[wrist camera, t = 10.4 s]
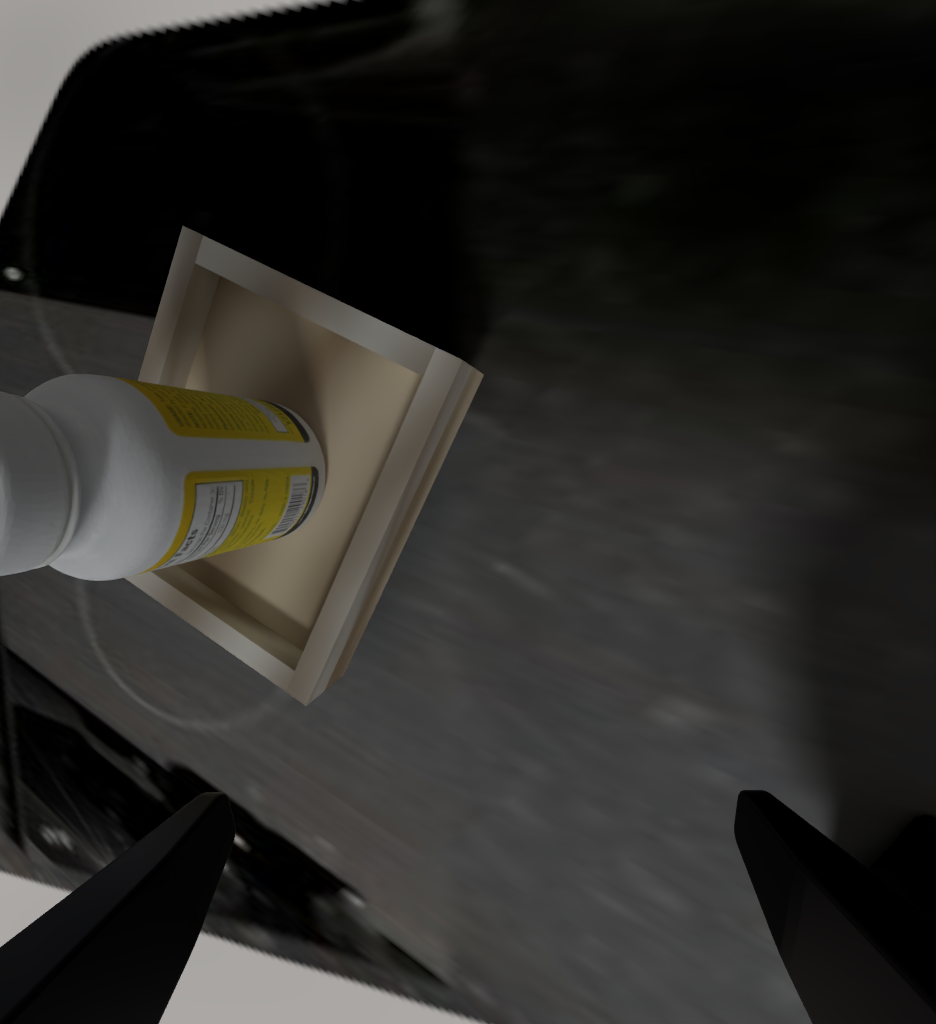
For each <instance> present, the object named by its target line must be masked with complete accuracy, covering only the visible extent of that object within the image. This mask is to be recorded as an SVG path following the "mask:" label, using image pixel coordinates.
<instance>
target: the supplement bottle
mask: <svg viewBox="0 0 936 1024" xmlns="http://www.w3.org/2000/svg"><path fill="white" fill-rule="evenodd" d="M324 488H325V462H324V457H323V453H322V450H321V447H320V444H319V442H318V440H317V438H316V436H315V434H314V433H313V431H312V429H311V428H310V427H309V426H308V424H307V423H306V422H305V421H304V420H303V419H302V418H301V417H300V416H299V415H298V414H297V413H295V412H294V411H292V410H290V409H289V408H287V407H285V406H282V405H280V404H277V403H273V402H269V401H264V400H257V399H252V398H245V397H237V396H230V395H224V394H216V393H210V392H204V391H199V390H191V389H184V388H178V387H172V386H166V385H159V384H152V383H146V382H141V381H135V380H129V379H122V378H116V377H110V376H100V375H92V374H72V375H65V376H60V377H57V378H54V379H52V380H49V381H47V382H45V383H43V384H42V385H40V386H38V387H36V388H35V389H33V390H32V391H30V392H29V393H28V394H27V395H26V396H25V397H21V396H17V395H11V394H8V393H4V392H0V576H3V575H9V574H15V573H20V572H25V571H28V570H30V569H36V568H40V567H43V566H46V565H50V566H51V567H53V568H54V569H56V570H58V571H60V572H62V573H65V574H67V575H70V576H73V577H76V578H80V579H85V580H95V581H100V580H114V579H118V578H123V577H129V576H133V575H138V574H142V573H146V572H150V571H153V570H157V569H162V568H166V567H169V566H173V565H177V564H182V563H185V562H189V561H193V560H197V559H201V558H205V557H209V556H213V555H217V554H221V553H224V552H228V551H233V550H236V549H241V548H244V547H248V546H252V545H256V544H260V543H264V542H268V541H271V540H275V539H278V538H281V537H284V536H287V535H289V534H292V533H294V532H295V531H297V530H299V529H300V528H301V527H303V526H304V525H305V524H306V523H307V522H308V521H309V520H310V519H311V517H312V516H313V515H314V513H315V512H316V510H317V508H318V506H319V504H320V502H321V499H322V496H323V492H324Z"/></svg>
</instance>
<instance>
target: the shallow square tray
mask: <svg viewBox="0 0 936 1024" xmlns="http://www.w3.org/2000/svg"><path fill="white" fill-rule="evenodd" d="M483 376H484V374H482V373H481V372H479V371H478V370H476V369H475V368H473V367H472V366H471V365H469V364H468V363H466V362H465V361H463V360H461V359H459V358H457V357H455V356H453V355H451V354H449V353H447V352H445V351H443V350H441V349H439V348H436V347H434V346H432V345H430V344H428V343H426V342H424V341H422V340H420V339H418V338H416V337H414V336H411V335H409V334H407V333H405V332H403V331H401V330H399V329H397V328H395V327H393V326H391V325H389V324H386V323H384V322H382V321H380V320H378V319H376V318H374V317H372V316H370V315H368V314H366V313H364V312H361V311H359V310H357V309H355V308H353V307H351V306H349V305H347V304H345V303H343V302H341V301H338V300H336V299H334V298H332V297H330V296H328V295H326V294H324V293H322V292H320V291H318V290H316V289H313V288H311V287H309V286H307V285H305V284H303V283H301V282H299V281H297V280H295V279H293V278H291V277H288V276H286V275H284V274H282V273H280V272H278V271H276V270H274V269H272V268H270V267H268V266H266V265H263V264H261V263H259V262H257V261H255V260H253V259H251V258H249V257H247V256H245V255H243V254H241V253H238V252H236V251H234V250H232V249H230V248H228V247H226V246H224V245H222V244H220V243H218V242H216V241H213V240H211V239H209V238H207V237H205V236H203V235H201V234H199V233H197V232H195V231H193V230H191V229H188V228H186V227H184V226H183V227H182V230H181V234H180V237H179V241H178V244H177V248H176V251H175V255H174V258H173V261H172V265H171V268H170V272H169V275H168V279H167V282H166V285H165V289H164V292H163V296H162V299H161V303H160V306H159V310H158V313H157V316H156V320H155V323H154V327H153V330H152V334H151V337H150V341H149V344H148V347H147V351H146V354H145V358H144V361H143V365H142V368H141V371H140V375H139V378H138V381H141V382H146V383H152V384H159V385H166V386H172V387H178V388H184V389H191V390H199V391H204V392H210V393H216V394H224V395H230V396H237V397H245V398H252V399H257V400H264V401H269V402H273V403H277V404H280V405H282V406H285V407H287V408H289V409H290V410H292V411H294V412H295V413H297V414H298V415H299V416H300V417H301V418H302V419H303V420H304V421H305V422H306V423H307V424H308V426H309V427H310V428H311V429H312V431H313V433H314V434H315V436H316V438H317V440H318V442H319V444H320V447H321V450H322V453H323V457H324V462H325V488H324V492H323V496H322V499H321V502H320V504H319V506H318V508H317V510H316V512H315V513H314V515H313V516H312V517H311V519H310V520H309V521H308V522H307V523H306V524H305V525H304V526H303V527H301V528H300V529H299V530H297V531H295V532H294V533H292V534H289V535H287V536H284V537H281V538H278V539H275V540H271V541H268V542H264V543H260V544H256V545H252V546H248V547H244V548H241V549H236V550H233V551H228V552H224V553H221V554H217V555H213V556H209V557H205V558H201V559H197V560H193V561H189V562H185V563H182V564H177V565H173V566H169V567H166V568H162V569H157V570H153V571H150V572H146V573H142V574H138V575H133V576H129V577H124V578H125V579H127V580H128V581H130V582H131V583H133V584H134V585H135V586H137V587H138V588H140V589H141V590H142V591H144V592H145V593H147V594H148V595H150V596H151V597H152V598H154V599H155V600H157V601H158V602H159V603H161V604H162V605H164V606H165V607H167V608H168V609H169V610H171V611H172V612H174V613H175V614H176V615H178V616H179V617H181V618H182V619H184V620H185V621H186V622H188V623H189V624H191V625H192V626H193V627H195V628H196V629H198V630H199V631H201V632H202V633H203V634H205V635H206V636H208V637H209V638H210V639H212V640H213V641H215V642H216V643H218V644H219V645H220V646H222V647H223V648H225V649H226V650H227V651H229V652H230V653H232V654H233V655H235V656H236V657H237V658H239V659H240V660H242V661H243V662H244V663H246V664H247V665H249V666H250V667H252V668H253V669H254V670H256V671H257V672H259V673H260V674H261V675H263V676H264V677H266V678H267V679H269V680H270V681H271V682H273V683H274V684H276V685H277V686H278V687H280V688H281V689H283V690H284V691H286V692H287V693H288V694H290V695H291V696H293V697H294V698H295V699H297V700H298V701H300V702H301V703H303V704H304V705H305V706H307V705H308V704H309V703H310V702H312V701H313V700H314V699H315V698H317V697H318V696H319V695H320V694H321V693H323V692H324V691H325V690H326V689H327V688H329V687H330V686H331V685H332V684H334V683H335V682H336V681H337V680H338V679H340V678H341V677H342V676H343V675H344V673H345V671H346V669H347V667H348V665H349V663H350V661H351V658H352V656H353V654H354V652H355V650H356V648H357V646H358V643H359V641H360V639H361V637H362V635H363V633H364V631H365V628H366V626H367V624H368V622H369V620H370V618H371V616H372V613H373V611H374V609H375V607H376V605H377V603H378V601H379V599H380V596H381V594H382V592H383V590H384V588H385V586H386V584H387V581H388V579H389V577H390V575H391V573H392V571H393V569H394V566H395V564H396V562H397V560H398V558H399V556H400V554H401V551H402V549H403V547H404V545H405V543H406V541H407V539H408V536H409V534H410V532H411V530H412V528H413V526H414V524H415V521H416V519H417V517H418V515H419V513H420V511H421V509H422V506H423V504H424V502H425V500H426V498H427V496H428V494H429V491H430V489H431V487H432V485H433V483H434V481H435V479H436V477H437V474H438V472H439V470H440V468H441V466H442V464H443V462H444V459H445V457H446V455H447V453H448V451H449V449H450V447H451V444H452V442H453V440H454V438H455V436H456V434H457V432H458V429H459V427H460V425H461V423H462V421H463V419H464V417H465V414H466V412H467V410H468V408H469V406H470V404H471V402H472V399H473V397H474V395H475V393H476V391H477V389H478V387H479V384H480V382H481V380H482V378H483Z"/></svg>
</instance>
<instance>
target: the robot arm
mask: <svg viewBox="0 0 936 1024" xmlns="http://www.w3.org/2000/svg"><path fill="white" fill-rule="evenodd" d="M932 830H936V817H933V816H929V815H922V816H918V817H917V818H915V819H914V820H913V821H912V822H911V823H910V824H909V825H908V826H907V827H906V828H905V830H904V831H903V832H902V833H901V834H900V835H899V836H898V837H897V839H896V840H895V841H894V842H893V843H892V844H891V845H890V846H889V848H888V849H887V850H886V851H885V852H884V853H883V854H882V855H881V857H880V858H879V859H878V860H877V861H876V862H875V863H874V864H873V866H872V867H871V868H870V869H867V868H866V867H865V866H864V865H862V864H861V863H860V862H858V861H857V860H856V859H855V858H853V857H852V856H851V855H849V854H848V853H847V852H845V851H844V850H843V849H842V848H840V847H839V846H838V845H836V844H835V843H834V842H833V841H831V840H830V839H829V838H827V837H826V836H825V835H823V834H822V833H821V832H820V831H818V830H817V829H816V828H814V827H813V826H812V825H810V824H809V823H808V822H807V821H805V820H804V819H803V818H801V817H800V816H799V815H798V814H796V813H795V812H794V811H792V810H791V809H790V808H788V807H787V806H786V805H785V804H783V803H782V802H781V801H779V800H778V799H777V798H776V797H774V796H773V795H772V794H770V793H768V792H767V791H764V790H743V791H741V792H740V793H739V795H738V800H737V808H736V816H735V823H734V833H735V838H736V842H737V845H738V848H739V850H740V853H741V856H742V858H743V861H744V863H745V866H746V869H747V871H748V874H749V876H750V879H751V882H752V884H753V887H754V890H755V892H756V895H757V897H758V900H759V903H760V905H761V908H762V910H763V913H764V916H765V918H766V921H767V924H768V926H769V929H770V931H771V934H772V936H773V939H774V941H775V944H776V946H777V949H778V951H779V954H780V956H781V958H782V960H783V963H784V965H785V967H786V969H787V971H788V973H789V976H790V978H791V980H792V982H793V984H794V986H795V988H796V990H797V992H798V994H799V996H800V999H801V1001H802V1003H803V1005H804V1007H805V1009H806V1011H807V1013H808V1015H809V1017H810V1019H811V1021H812V1024H936V833H935V834H933V835H927V833H928V832H930V831H932ZM234 838H235V823H234V819H233V815H232V811H231V806H230V802H229V798H228V796H227V795H226V794H225V793H222V792H213V793H203V794H201V795H199V796H197V797H196V798H195V799H193V800H192V801H191V802H189V803H188V804H187V805H186V806H184V807H183V808H182V809H180V810H179V811H178V812H176V813H175V814H174V815H173V816H171V817H170V818H169V819H167V820H166V821H165V822H163V823H162V824H161V825H159V826H158V827H157V828H156V829H154V830H153V831H152V832H150V833H149V834H148V835H146V836H145V837H144V838H142V839H141V840H140V841H139V842H137V843H136V844H135V845H133V846H132V847H131V848H129V849H128V850H127V851H126V852H124V853H123V854H122V855H120V856H119V857H118V858H116V859H115V860H114V861H112V862H111V863H110V864H109V865H107V866H106V867H105V868H103V869H102V870H101V871H99V872H98V873H97V874H95V875H94V876H93V877H92V878H90V879H89V880H88V881H86V882H85V883H84V884H82V885H81V886H80V887H79V888H77V889H76V890H75V891H73V892H72V893H71V894H69V895H68V896H67V897H66V898H65V899H63V900H62V901H60V902H59V903H58V904H56V905H55V906H54V907H53V908H51V909H50V910H49V911H47V912H46V913H45V914H43V915H42V916H41V917H39V918H38V919H37V920H35V921H34V922H33V923H32V924H30V925H29V926H28V927H26V928H25V929H24V930H22V931H21V932H20V933H18V934H17V935H16V936H15V937H13V938H12V939H11V940H9V941H8V942H7V943H6V944H4V945H3V946H1V947H0V1024H158V1023H159V1021H160V1019H161V1017H162V1015H163V1013H164V1011H165V1008H166V1007H167V1004H168V1002H169V1000H170V998H171V996H172V994H173V992H174V989H175V987H176V985H177V983H178V981H179V979H180V976H181V974H182V972H183V970H184V968H185V966H186V964H187V961H188V959H189V957H190V955H191V952H192V950H193V948H194V946H195V943H196V941H197V938H198V936H199V933H200V931H201V928H202V926H203V923H204V920H205V917H206V915H207V912H208V909H209V907H210V904H211V901H212V899H213V896H214V893H215V891H216V888H217V885H218V883H219V880H220V877H221V875H222V872H223V869H224V866H225V864H226V861H227V858H228V856H229V853H230V850H231V848H232V845H233V842H234Z"/></svg>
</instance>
